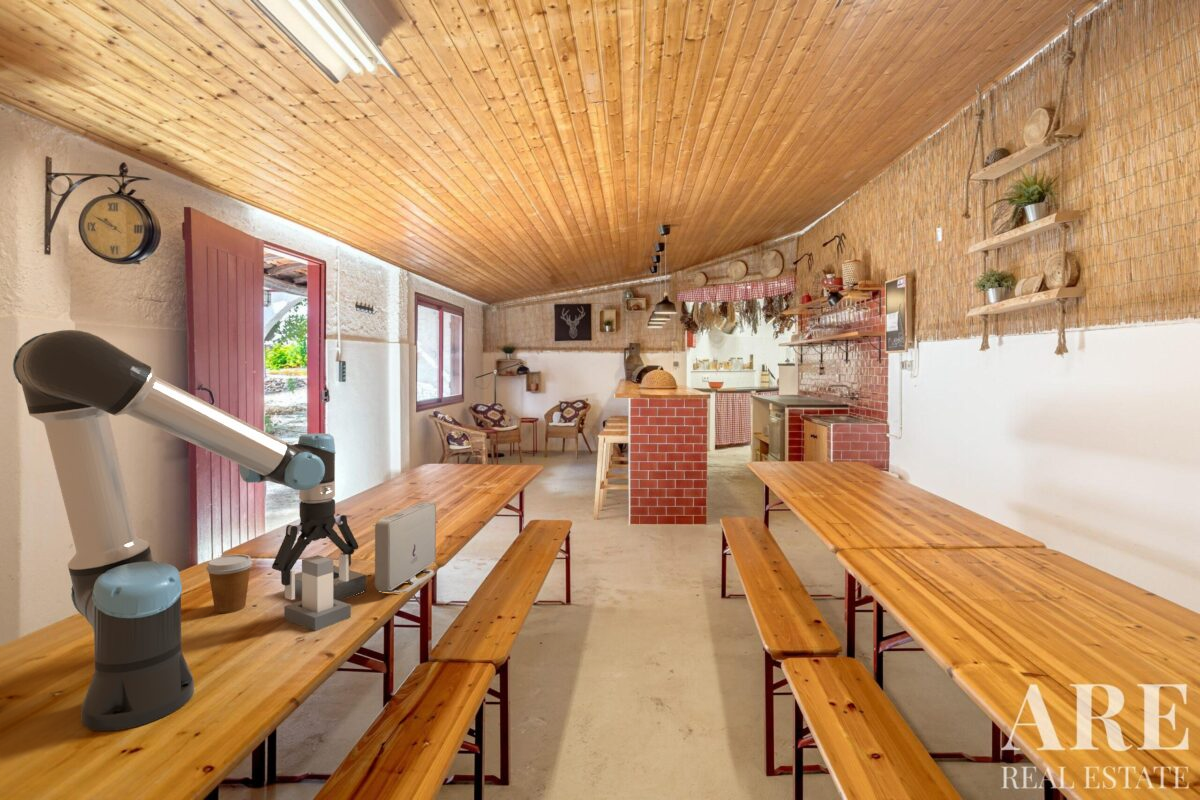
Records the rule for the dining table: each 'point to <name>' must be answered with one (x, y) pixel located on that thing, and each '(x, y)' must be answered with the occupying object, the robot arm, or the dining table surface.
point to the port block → (338, 584)
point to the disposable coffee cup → (229, 581)
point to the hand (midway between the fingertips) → (318, 589)
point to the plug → (317, 583)
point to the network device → (405, 547)
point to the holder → (317, 615)
